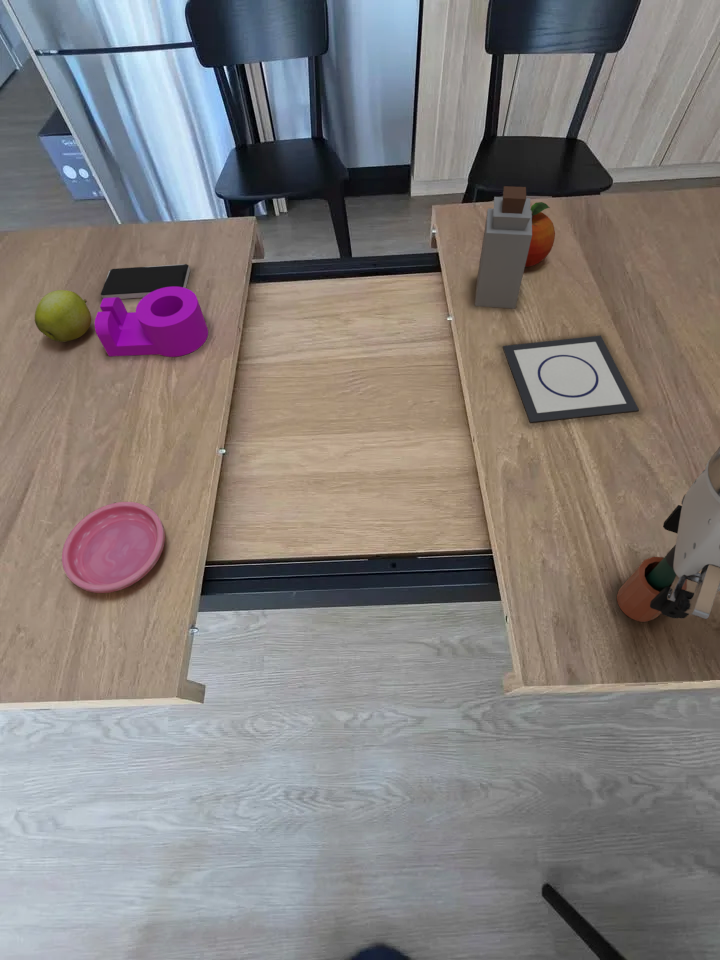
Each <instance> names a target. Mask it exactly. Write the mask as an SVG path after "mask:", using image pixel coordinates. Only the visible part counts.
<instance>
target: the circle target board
mask: <svg viewBox="0 0 720 960" xmlns="http://www.w3.org/2000/svg"><path fill="white" fill-rule="evenodd" d="M502 348H503V352H504V354H505V358H506V360H507V363H508V366H509V369H510V371H511V374H512V377H513V380H514V383H515V386H516V388H517V391H518V394H519V397H520V399H521V403H522V405H523V407H524V410H525V413H526V416H527V418H528V421H529V423H530V424H535V423H545V422H551V421H553V422H554V421H561V420H570V419H578V418H579V419H580V418H588V417H598V416H607V415H616V414H625V413H632V412H634V413H635V412H639V411H640V409H639V407H638V405H637V403H636V400H635V399H634V397H633V395H632V393H631V392H630V389H629V387H628V385H627V384H626V381H625V380H624V377H623V375H622V374H621V372H620V370H619V367H618V366H617V364H616V362H615V361H614V358H613V356H612V355H611V352H610V350H609V348H608V346H607V345H606V343H605V341H604V339H603V337H602V335H592V336H583V337H582V336H581V337H574V338H573V337H572V338H565V339H564V338H563V339H553V340H545V341H535V342H527V343H526V342H525V343H517V344H507V345H503V346H502Z"/></svg>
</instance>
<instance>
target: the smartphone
mask: <svg viewBox="0 0 720 960" xmlns="http://www.w3.org/2000/svg"><path fill="white" fill-rule="evenodd" d="M108 270H109V271H108V273H107V276H106V278H105V281H104V284H103V286H102V290H101V292H100V296H101V298H102V299H103V298H112V297H119V298H120V299H121V300H123V299H125V300H126V299H140V298H141V299H142V298H143V297H145V296H146V295H147V294H149V293H151V292H153V291H155V290H157V289H160V288H165V287H173V286H176V287H183V288H187V284H188V281H189V277H190V272H191V268H190V266H189V264H187V263H181V264H180V263H179V264H166V265H151V266H136V267H134V266H133V267H120V268H112V269H111V268H110V269H108Z"/></svg>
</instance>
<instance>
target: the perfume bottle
mask: <svg viewBox="0 0 720 960" xmlns="http://www.w3.org/2000/svg"><path fill="white" fill-rule="evenodd" d="M493 197H494V198H493V199H494V200H493V208H492V207H491V208H489V207H488V208H487V210H486V218H485V225H484V232H483V237H482V244H481V250H480V257H479V264H478V270H477V278H476V285H475V286H476V287H475V298H474V299H475V301H474V306H475V307H484V308H502V309H514V310H516V307H517V304H518V303H517V302H518V299H519V294H520V289H521V286H522V281H523V276H524V272H525V268H526V267H525V264H526V260H527V255H528V251H529V247H530V242H531V238H532V210H530V209H531V198H530V197H527V187H526V186H512V185H511V186H506V185H504V186H503V191H502V196H493Z"/></svg>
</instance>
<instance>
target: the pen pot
mask: <svg viewBox="0 0 720 960" xmlns="http://www.w3.org/2000/svg"><path fill="white" fill-rule="evenodd" d="M664 557H665V556H664ZM664 557H663V556H651V557H648V558H646V559H644V560H643V561H642V562H641V563H640V564H639V566H638V567H637V568H636V569H635V570H634V571H633V573H632V574H631V575H630V576H629V577H628V578H627V579H626V580H625V582H624V583H623V584H622V585H621V587H620V588H618V591H617V593H616V600H617V604H618V607H619V608H620V610H621V612H623V614H625V616H627V617H628V618H630V619H631V620H634V621H637V622H643V623H644V622H646V623H647V622H651V621H653V620H655V619H657V618H658V617H659V616H660V615H661V614H662V613H661V611H658V610H655V609H652V608H651V607H650V602H651V601H652V600H653V599H654V598H655V597H656V596H657V595H658V594H659V593H660V592H659V591H657V590H655V589H653V588H652V587H651V586H650V585H649V584H648V583H647V580H646V578H645V577H646V576H647V575H648V574H649V573H650V572H651V571H652V570H653V569H654V568H655V567H656V566H657V565H658V564H659V562H660V561H661V560H662V559H663V558H664ZM671 585H672V584H671ZM671 585H670V586H669V587H671ZM687 588H688V579H686V581H685V583H684V585H683V587H682V589H683V590H686V591H687Z"/></svg>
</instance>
